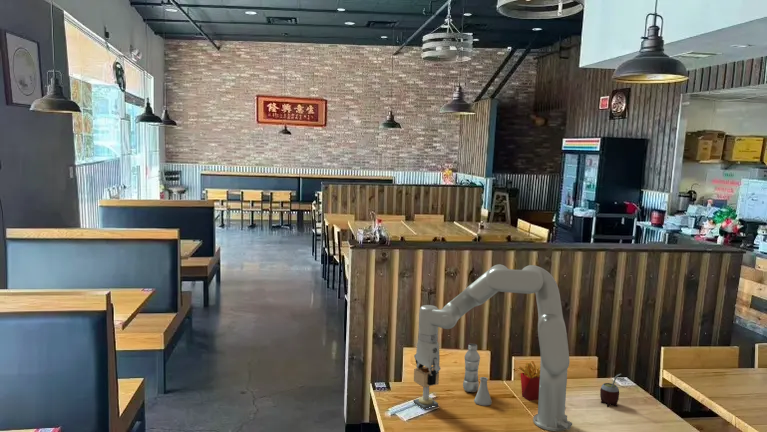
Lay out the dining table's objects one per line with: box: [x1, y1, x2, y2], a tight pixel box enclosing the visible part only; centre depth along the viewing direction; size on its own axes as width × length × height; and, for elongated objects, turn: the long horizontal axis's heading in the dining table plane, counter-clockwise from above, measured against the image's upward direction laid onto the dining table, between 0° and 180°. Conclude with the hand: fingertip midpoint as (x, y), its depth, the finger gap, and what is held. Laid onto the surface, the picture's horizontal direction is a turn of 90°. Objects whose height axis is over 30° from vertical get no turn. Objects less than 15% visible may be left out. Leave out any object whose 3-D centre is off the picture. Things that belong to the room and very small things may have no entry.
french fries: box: [517, 360, 540, 402], centre depth 218 cm, size 9×8×15 cm
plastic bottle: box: [462, 343, 481, 393], centre depth 223 cm, size 6×7×20 cm
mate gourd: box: [599, 373, 622, 408], centre depth 213 cm, size 8×8×15 cm
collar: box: [413, 366, 440, 388], centre depth 208 cm, size 7×7×5 cm
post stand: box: [412, 386, 439, 410], centre depth 208 cm, size 7×7×8 cm
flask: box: [473, 376, 493, 406], centre depth 212 cm, size 7×7×10 cm
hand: (426, 380), depth 208 cm, fingers closed on collar, 7 cm apart
